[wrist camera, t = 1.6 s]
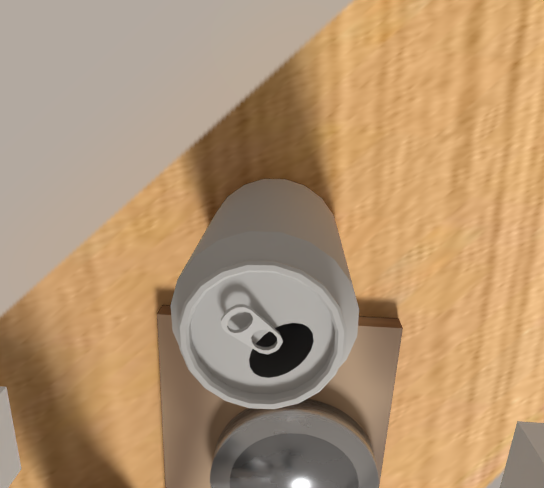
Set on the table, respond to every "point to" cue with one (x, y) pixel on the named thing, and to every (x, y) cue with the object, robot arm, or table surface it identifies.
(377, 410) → the board
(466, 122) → the table surface
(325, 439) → the grey hollow ring
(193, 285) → the can
